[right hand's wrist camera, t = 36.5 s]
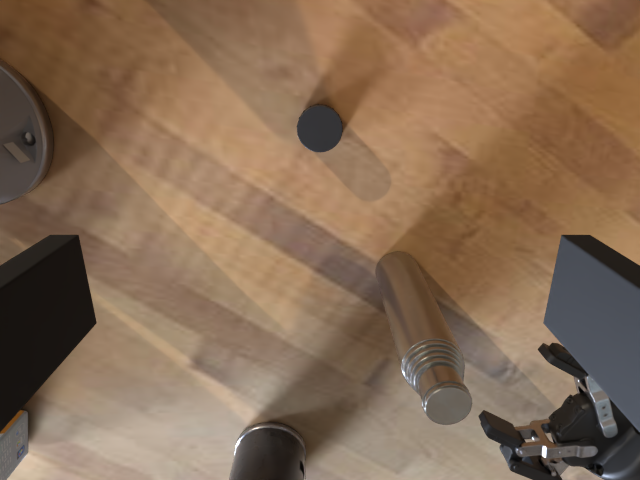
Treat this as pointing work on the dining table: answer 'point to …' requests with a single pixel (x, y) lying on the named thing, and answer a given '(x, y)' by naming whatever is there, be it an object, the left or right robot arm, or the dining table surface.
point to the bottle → (423, 339)
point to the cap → (319, 128)
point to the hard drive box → (13, 444)
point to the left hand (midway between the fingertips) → (512, 387)
